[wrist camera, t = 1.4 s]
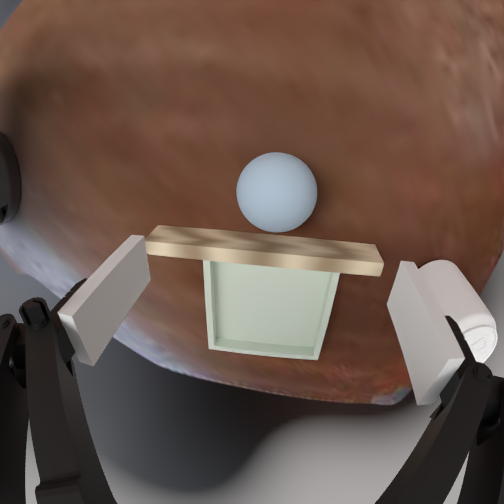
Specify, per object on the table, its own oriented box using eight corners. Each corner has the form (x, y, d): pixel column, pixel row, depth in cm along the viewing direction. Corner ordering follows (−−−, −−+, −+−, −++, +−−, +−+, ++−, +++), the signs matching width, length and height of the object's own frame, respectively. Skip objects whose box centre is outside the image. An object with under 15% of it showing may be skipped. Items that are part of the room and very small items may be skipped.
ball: (241, 211, 31) (229, 242, 25) (244, 144, 27) (230, 157, 21) (310, 217, 30) (314, 250, 24) (317, 150, 27) (326, 165, 21)
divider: (159, 237, 33) (145, 253, 30) (158, 225, 33) (143, 241, 29) (371, 256, 31) (380, 276, 28) (374, 244, 31) (383, 263, 27)
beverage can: (393, 279, 32) (425, 353, 22) (449, 244, 29) (498, 308, 19) (414, 320, 35) (440, 390, 24) (463, 290, 32) (502, 354, 21)
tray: (212, 338, 40) (208, 348, 38) (207, 245, 33) (202, 254, 31) (317, 349, 39) (317, 360, 37) (338, 257, 32) (341, 267, 30)
